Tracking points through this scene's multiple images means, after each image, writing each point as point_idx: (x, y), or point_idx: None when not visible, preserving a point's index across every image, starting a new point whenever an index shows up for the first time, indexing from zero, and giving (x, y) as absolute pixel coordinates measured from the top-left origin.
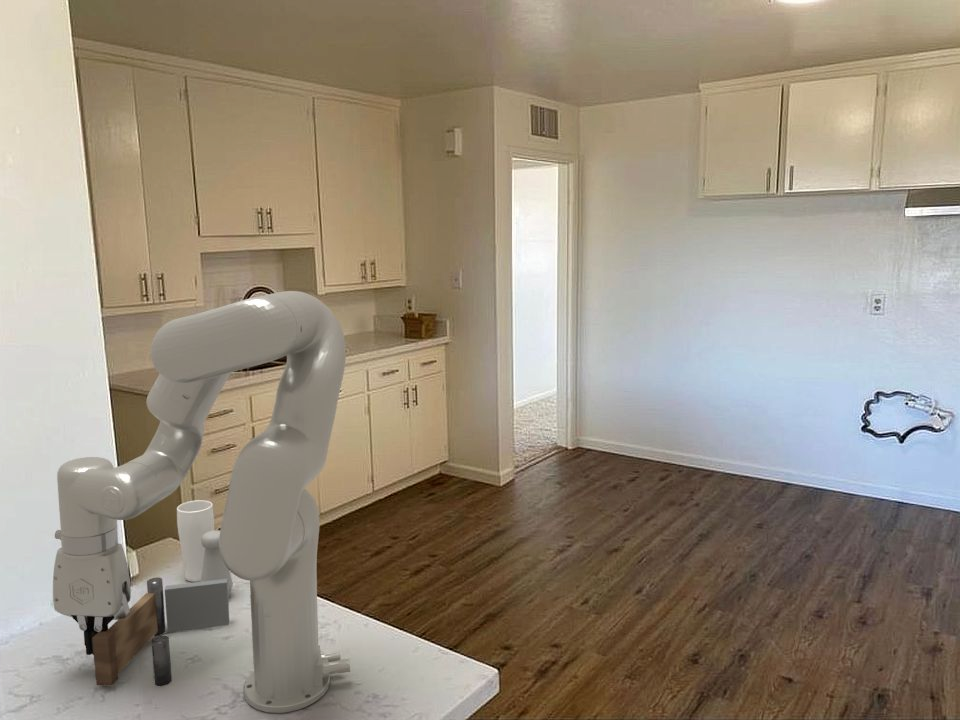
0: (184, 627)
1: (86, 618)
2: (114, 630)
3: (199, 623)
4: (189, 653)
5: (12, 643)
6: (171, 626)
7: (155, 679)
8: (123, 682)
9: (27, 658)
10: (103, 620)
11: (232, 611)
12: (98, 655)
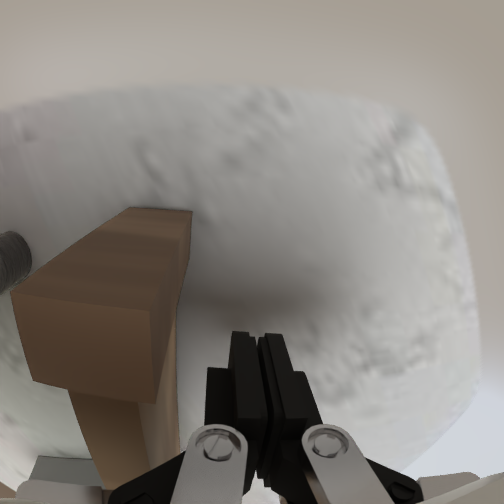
0: None
1: (318, 497)
2: (88, 417)
3: (79, 469)
4: None
5: (476, 387)
6: None
7: (7, 241)
8: None
9: (451, 352)
10: (175, 492)
11: None
12: (141, 247)
